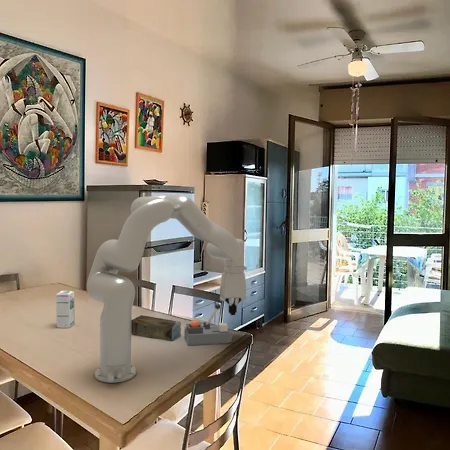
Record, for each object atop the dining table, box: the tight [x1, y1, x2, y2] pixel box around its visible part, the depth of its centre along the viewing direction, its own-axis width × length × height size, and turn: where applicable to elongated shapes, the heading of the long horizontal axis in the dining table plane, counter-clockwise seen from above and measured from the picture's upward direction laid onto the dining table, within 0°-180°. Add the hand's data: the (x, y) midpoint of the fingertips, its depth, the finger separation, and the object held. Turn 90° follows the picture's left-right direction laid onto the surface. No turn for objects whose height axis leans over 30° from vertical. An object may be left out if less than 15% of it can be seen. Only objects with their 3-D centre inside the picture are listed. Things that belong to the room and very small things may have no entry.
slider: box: [217, 322, 229, 332], centre depth 169 cm, size 3×3×2 cm
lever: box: [205, 303, 221, 325], centre depth 173 cm, size 2×2×10 cm
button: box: [190, 319, 200, 328], centre depth 168 cm, size 3×3×3 cm
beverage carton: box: [131, 314, 182, 342], centre depth 175 cm, size 8×19×7 cm, turn 69°
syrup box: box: [55, 290, 75, 329], centre depth 182 cm, size 6×6×14 cm
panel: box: [183, 321, 233, 346], centre depth 171 cm, size 10×17×6 cm, turn 104°
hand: (232, 314), depth 175 cm, fingers closed
